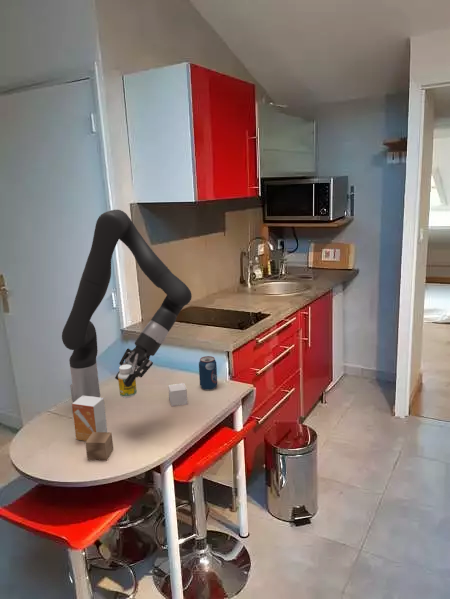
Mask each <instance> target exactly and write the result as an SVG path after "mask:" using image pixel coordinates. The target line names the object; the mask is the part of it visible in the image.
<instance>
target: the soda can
mask: <svg viewBox="0 0 450 599" xmlns="http://www.w3.org/2000/svg"><path fill="white" fill-rule="evenodd" d="M217 367H218V366H217V361H216V358H215V357H214V356H210V355H206V356H201V358H200V359H199V362H198V371H199V372H198V374H199V375H198V376H199V386H200V388H201V389H202V390H205V391H210V390H211V391H212V390H214V389H216V388H217V386H218V373H217V372H218V370H217V369H218V368H217Z"/></svg>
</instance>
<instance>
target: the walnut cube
mask: <svg viewBox="0 0 450 599" xmlns="http://www.w3.org/2000/svg"><path fill="white" fill-rule="evenodd" d="M84 442H85V443H84V444H85V451H86V458H87V459H86V460H87V461H105V462H106V461H108V459H109V457H110V456H111V455H112V453H113V451H114V444H113V443H114V442H113V432H112V431H111V432H108V431H107V432H93V433H92V434H91V435H90V437H89V438H88V440H87V441H84Z"/></svg>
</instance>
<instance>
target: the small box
mask: <svg viewBox="0 0 450 599" xmlns="http://www.w3.org/2000/svg"><path fill="white" fill-rule="evenodd" d="M105 406H106V405H105V398H104V397H101V396H100V397H93V396H81V397H80V398H79V399H77V400H76V401H75V402H73V403H71V407H72V408H71V409H72V414H73V415H72V416H73V424H74V431H75V432H74V433H75V440H77V441H84V442H86V441H87V440H88V438H89V437H90V435H91V434H92V433H93V432H108V428H107V426H108V425H107V424H108V423H107V416H106V407H105Z"/></svg>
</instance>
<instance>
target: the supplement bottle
mask: <svg viewBox="0 0 450 599" xmlns="http://www.w3.org/2000/svg"><path fill="white" fill-rule="evenodd" d="M132 369H133V367H132V366H131V365H128V364H126V365H122V366H121V365H120V366H119V368H118V372H119V371H120V373H119V374H118V373H117V374H118V380H117V381H118V389H119V390H118V391H119V395H120V397H121V398H125V399H128V398H133V397H135V396H136V395H137V393H138V392H137V391H138V390H137V381H136V379H135V380H134V382H133V383H132V385H131V386H130V387H127V386H126V385H124V382H125V380H126V379H127V377H128V376H129V374H131V371H132Z"/></svg>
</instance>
